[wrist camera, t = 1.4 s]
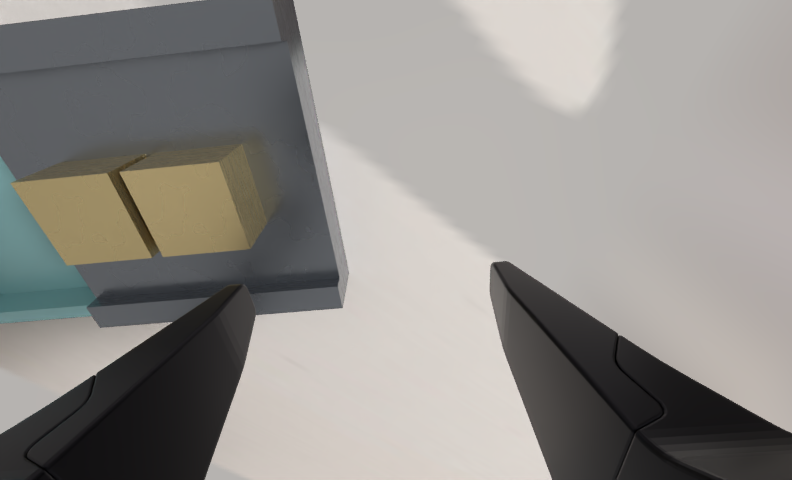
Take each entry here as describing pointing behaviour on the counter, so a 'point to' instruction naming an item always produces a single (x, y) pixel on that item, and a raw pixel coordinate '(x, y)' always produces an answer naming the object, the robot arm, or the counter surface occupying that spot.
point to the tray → (33, 266)
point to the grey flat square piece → (183, 140)
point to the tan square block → (197, 200)
